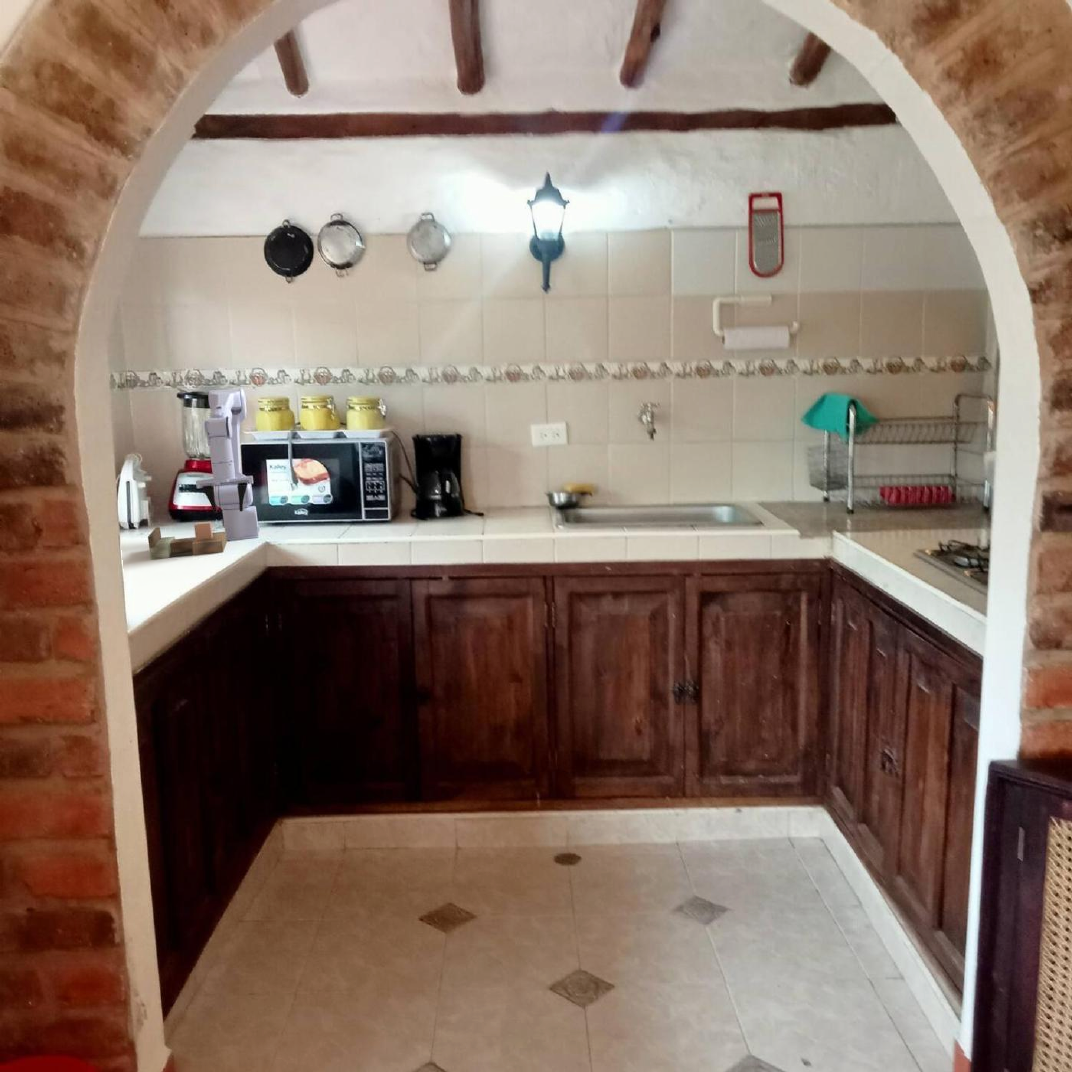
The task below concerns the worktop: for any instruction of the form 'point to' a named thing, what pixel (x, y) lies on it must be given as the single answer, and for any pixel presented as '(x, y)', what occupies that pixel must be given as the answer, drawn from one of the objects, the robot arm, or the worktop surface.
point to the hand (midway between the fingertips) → (228, 512)
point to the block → (203, 530)
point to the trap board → (184, 545)
